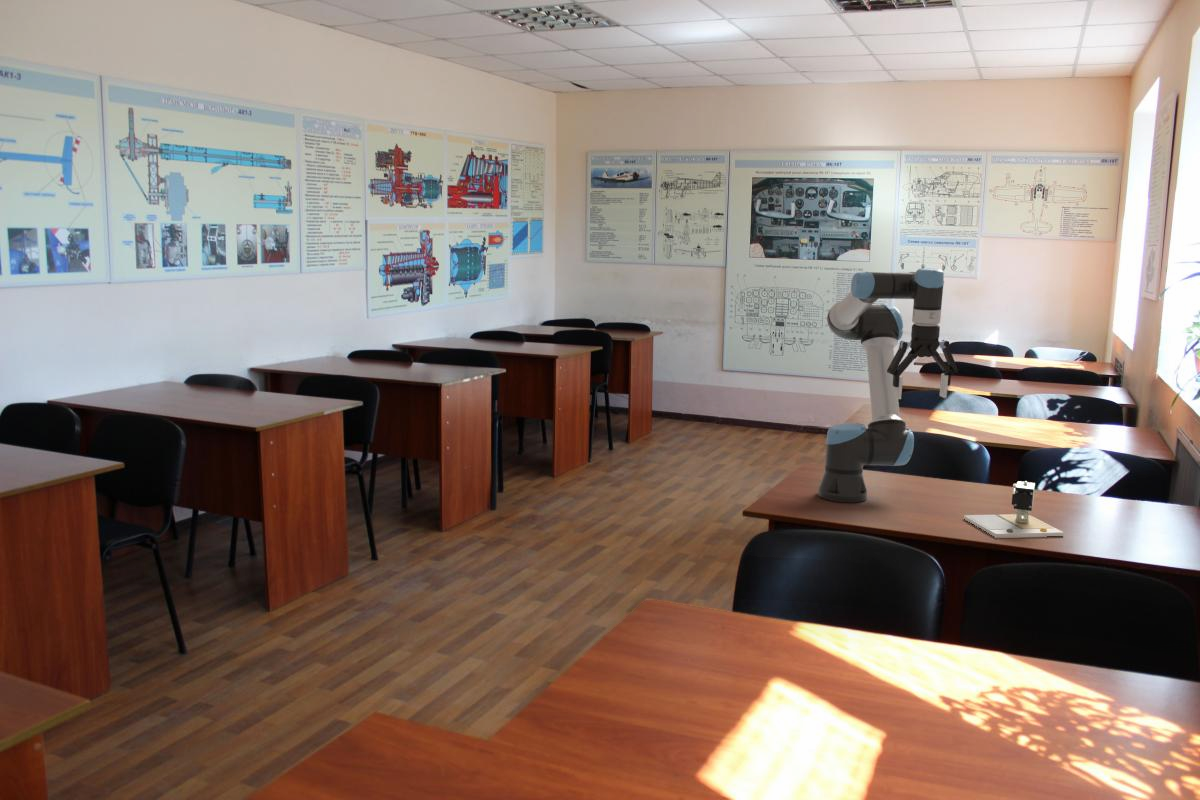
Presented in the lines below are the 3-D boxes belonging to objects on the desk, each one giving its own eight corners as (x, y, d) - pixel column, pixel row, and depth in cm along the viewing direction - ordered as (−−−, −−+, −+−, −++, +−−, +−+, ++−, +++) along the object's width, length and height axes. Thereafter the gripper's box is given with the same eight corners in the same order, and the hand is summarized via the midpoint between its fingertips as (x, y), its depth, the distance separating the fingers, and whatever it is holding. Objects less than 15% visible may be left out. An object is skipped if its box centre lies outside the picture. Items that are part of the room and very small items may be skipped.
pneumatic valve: (1032, 517, 278) (1035, 478, 276) (1029, 528, 268) (1033, 486, 266) (1011, 515, 281) (1015, 475, 279) (1008, 525, 270) (1012, 484, 268)
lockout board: (963, 519, 280) (964, 512, 280) (1027, 518, 283) (1028, 511, 282) (995, 538, 263) (996, 530, 262) (1063, 536, 265) (1064, 529, 265)
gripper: (889, 326, 263) (884, 401, 267) (974, 325, 266) (968, 399, 271) (878, 322, 270) (873, 395, 275) (961, 321, 273) (955, 393, 278)
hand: (920, 397), depth 273 cm, fingers open, 13 cm apart
